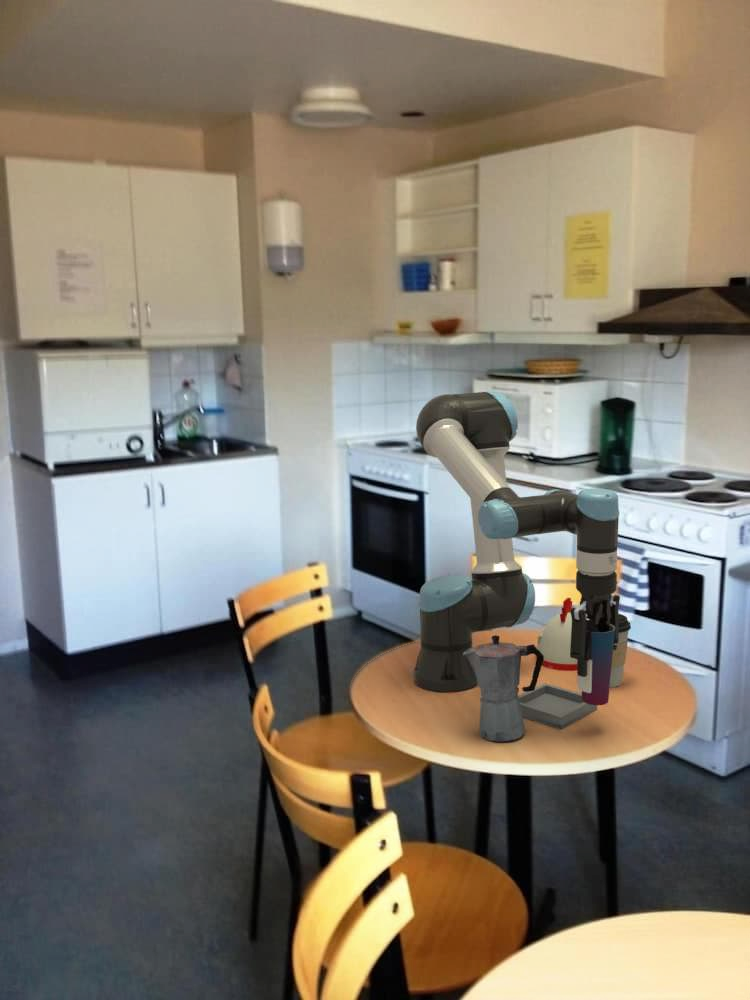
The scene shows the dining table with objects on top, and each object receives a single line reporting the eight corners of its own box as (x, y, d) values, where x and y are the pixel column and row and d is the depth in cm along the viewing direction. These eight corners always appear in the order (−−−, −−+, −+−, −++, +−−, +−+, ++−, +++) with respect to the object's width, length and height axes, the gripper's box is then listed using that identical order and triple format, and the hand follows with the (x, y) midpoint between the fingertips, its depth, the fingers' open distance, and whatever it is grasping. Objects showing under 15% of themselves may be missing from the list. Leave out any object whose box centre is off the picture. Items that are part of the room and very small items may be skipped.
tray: (508, 712, 194) (508, 700, 193) (545, 693, 203) (545, 683, 202) (561, 729, 184) (561, 717, 184) (597, 709, 193) (597, 698, 193)
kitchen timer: (601, 654, 226) (602, 594, 223) (588, 674, 214) (589, 610, 211) (545, 648, 232) (544, 589, 229) (529, 666, 219) (529, 605, 217)
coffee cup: (631, 691, 203) (632, 624, 200) (586, 689, 204) (587, 623, 202) (628, 675, 212) (629, 611, 209) (585, 673, 213) (586, 610, 211)
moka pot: (463, 723, 189) (461, 628, 185) (539, 722, 188) (539, 627, 184) (465, 744, 179) (464, 644, 176) (546, 743, 179) (546, 642, 175)
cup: (583, 690, 187) (585, 619, 184) (617, 697, 183) (619, 624, 180) (572, 703, 181) (573, 629, 178) (606, 710, 177) (608, 634, 175)
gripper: (585, 585, 168) (583, 706, 173) (640, 564, 181) (636, 676, 186) (550, 577, 173) (549, 695, 178) (606, 557, 186) (603, 667, 191)
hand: (593, 685), depth 182 cm, fingers closed on cup, 6 cm apart
